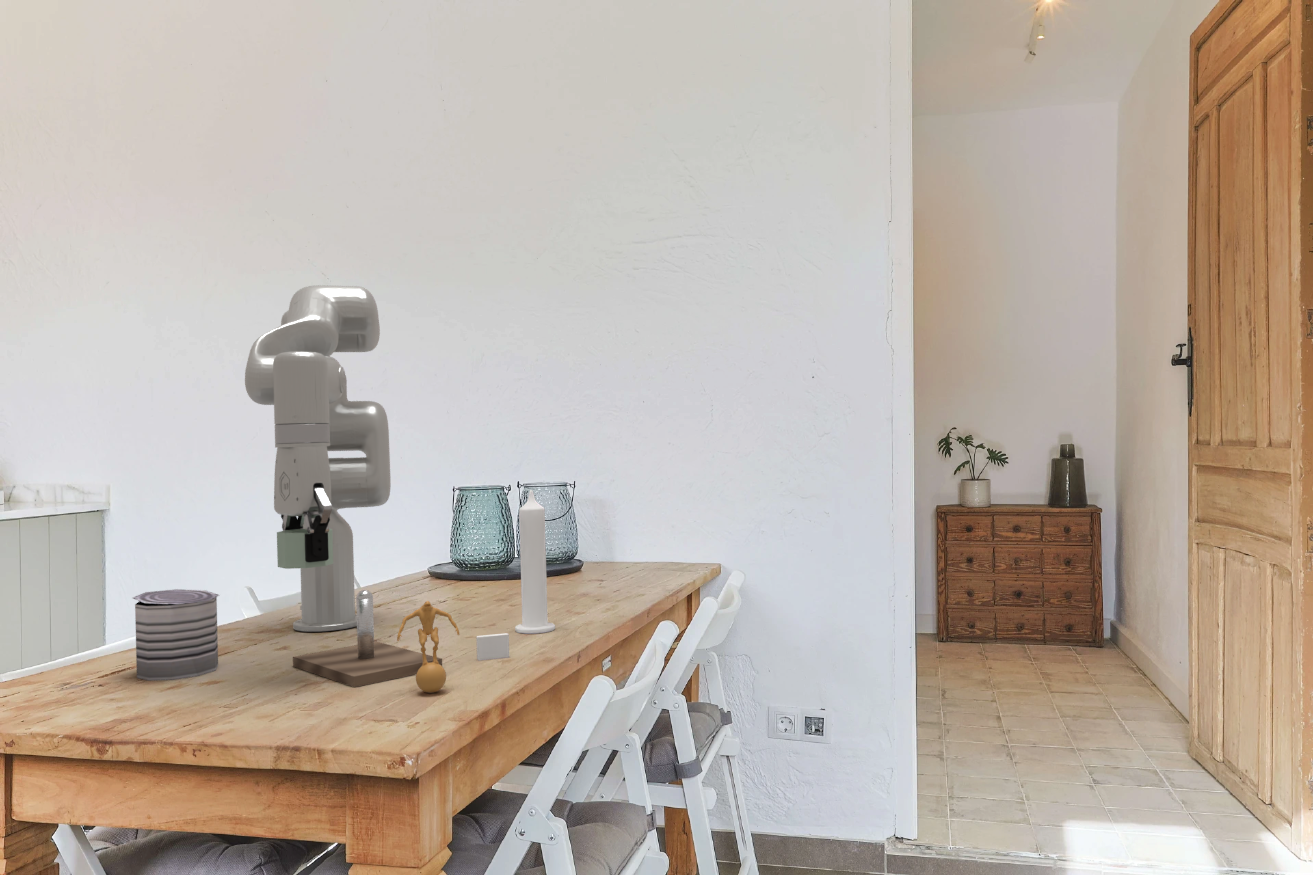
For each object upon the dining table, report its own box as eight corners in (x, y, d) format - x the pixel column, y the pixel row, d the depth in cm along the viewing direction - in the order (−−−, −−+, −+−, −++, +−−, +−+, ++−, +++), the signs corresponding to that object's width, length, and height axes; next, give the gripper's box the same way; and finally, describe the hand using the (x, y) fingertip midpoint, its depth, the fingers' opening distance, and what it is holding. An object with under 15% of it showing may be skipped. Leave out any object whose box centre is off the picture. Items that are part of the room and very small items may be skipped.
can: (195, 660, 153) (193, 585, 153) (234, 668, 146) (232, 590, 146) (121, 675, 143) (119, 595, 143) (159, 684, 137) (157, 601, 137)
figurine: (401, 699, 124) (398, 607, 124) (396, 689, 130) (394, 601, 130) (465, 691, 127) (462, 602, 127) (457, 682, 133) (455, 596, 133)
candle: (558, 625, 173) (554, 488, 173) (550, 633, 166) (546, 490, 166) (520, 626, 173) (516, 489, 174) (510, 634, 166) (506, 491, 167)
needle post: (355, 657, 144) (353, 590, 144) (369, 654, 145) (367, 588, 145) (362, 659, 142) (360, 591, 142) (377, 657, 144) (375, 589, 144)
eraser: (476, 659, 148) (476, 635, 148) (508, 656, 149) (507, 632, 149) (478, 661, 146) (477, 637, 146) (509, 657, 148) (508, 634, 148)
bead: (272, 565, 138) (271, 531, 138) (319, 560, 143) (318, 527, 143) (291, 569, 133) (290, 534, 133) (339, 564, 138) (338, 529, 138)
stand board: (292, 666, 146) (292, 656, 146) (376, 650, 156) (376, 641, 156) (354, 687, 132) (353, 676, 132) (442, 668, 141) (442, 658, 141)
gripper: (254, 438, 142) (257, 557, 142) (301, 436, 129) (304, 567, 129) (303, 437, 147) (306, 552, 147) (353, 435, 134) (357, 561, 134)
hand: (305, 558), depth 138 cm, fingers closed on bead, 7 cm apart
